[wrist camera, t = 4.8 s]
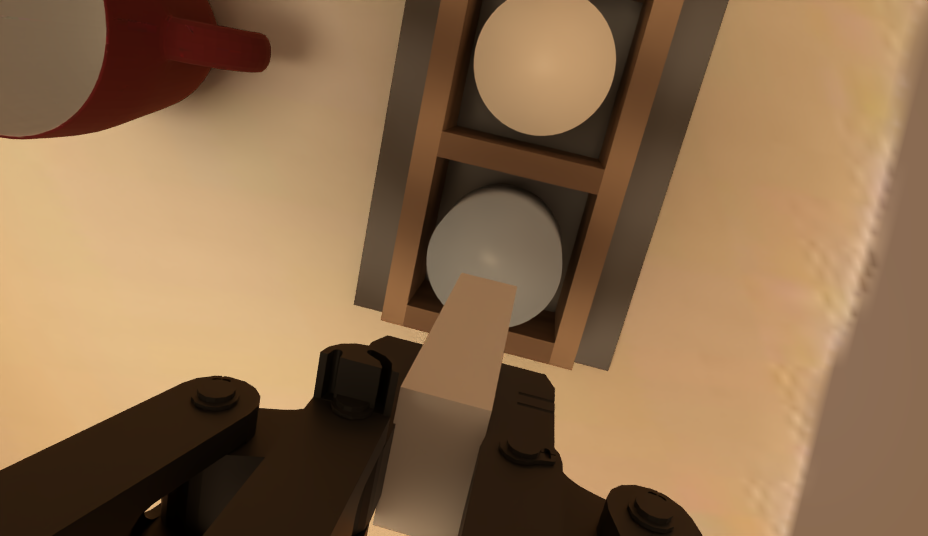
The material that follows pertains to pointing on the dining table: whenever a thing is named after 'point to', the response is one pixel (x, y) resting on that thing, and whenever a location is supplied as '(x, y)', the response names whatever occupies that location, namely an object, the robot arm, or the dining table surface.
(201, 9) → the mug
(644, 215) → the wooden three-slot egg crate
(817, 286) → the dining table surface
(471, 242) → the slate egg
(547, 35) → the cream egg
